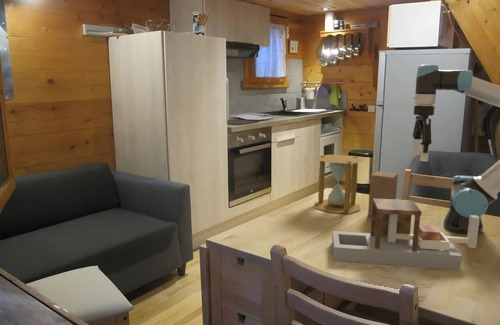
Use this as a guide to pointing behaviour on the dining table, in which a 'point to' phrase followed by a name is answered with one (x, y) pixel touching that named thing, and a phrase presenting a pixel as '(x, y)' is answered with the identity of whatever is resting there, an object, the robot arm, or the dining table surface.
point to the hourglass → (337, 197)
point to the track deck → (390, 252)
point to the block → (429, 233)
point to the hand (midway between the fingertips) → (419, 157)
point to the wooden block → (382, 187)
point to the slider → (444, 240)
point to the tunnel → (404, 211)
